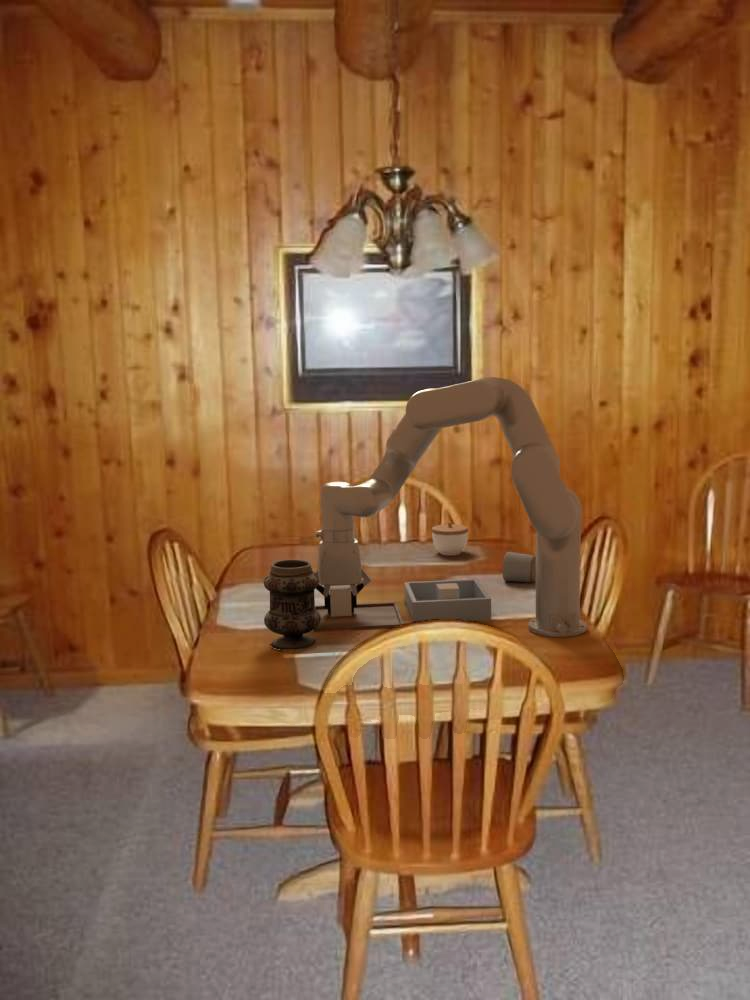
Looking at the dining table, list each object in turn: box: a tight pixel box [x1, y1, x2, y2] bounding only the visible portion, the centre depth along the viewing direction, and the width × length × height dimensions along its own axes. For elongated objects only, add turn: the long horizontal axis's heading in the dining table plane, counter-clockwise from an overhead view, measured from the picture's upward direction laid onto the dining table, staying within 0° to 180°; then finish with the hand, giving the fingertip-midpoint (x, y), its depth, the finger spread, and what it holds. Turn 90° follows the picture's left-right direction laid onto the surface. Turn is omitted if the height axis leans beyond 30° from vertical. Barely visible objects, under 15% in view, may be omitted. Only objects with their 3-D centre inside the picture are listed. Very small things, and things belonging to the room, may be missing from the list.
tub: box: [403, 578, 492, 622], centre depth 231 cm, size 18×18×5 cm
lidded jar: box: [431, 521, 469, 556], centre depth 290 cm, size 11×11×9 cm
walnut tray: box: [313, 601, 405, 632], centre depth 226 cm, size 18×20×1 cm
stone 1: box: [329, 585, 352, 617], centre depth 229 cm, size 5×5×6 cm
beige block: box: [436, 583, 459, 600], centre depth 228 cm, size 5×5×6 cm
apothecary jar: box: [263, 558, 321, 651], centre depth 208 cm, size 12×12×18 cm
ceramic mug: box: [502, 551, 536, 583], centre depth 257 cm, size 11×8×8 cm
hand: (340, 610), depth 230 cm, fingers closed on stone 1, 4 cm apart
